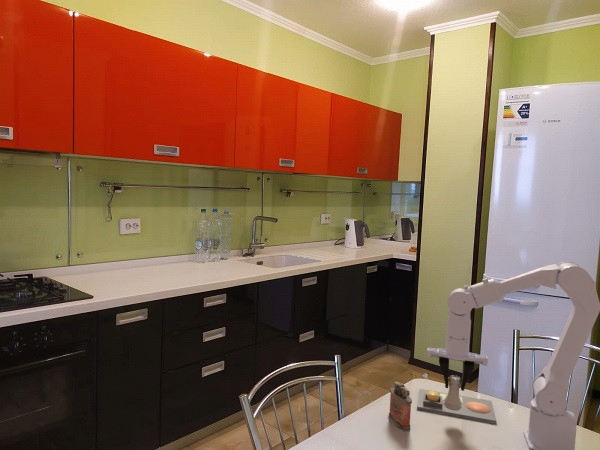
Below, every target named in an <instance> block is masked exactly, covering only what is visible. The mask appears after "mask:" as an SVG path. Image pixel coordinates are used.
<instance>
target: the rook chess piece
mask: <svg viewBox="0 0 600 450" xmlns="http://www.w3.org/2000/svg"><path fill="white" fill-rule="evenodd" d="M461 380H462V377H460V376H458V375H454V374H452V375H450V376H449V377H448V395H447V396H446V398H445V399H444V401H445V402H444V406H445V407H446V408H448V409H450V410H454V411H458V410H460V409H461V408H462V407H461V405H462V403H461V400H460V398H459V395H460V390H461V383H462V381H461Z"/></svg>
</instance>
